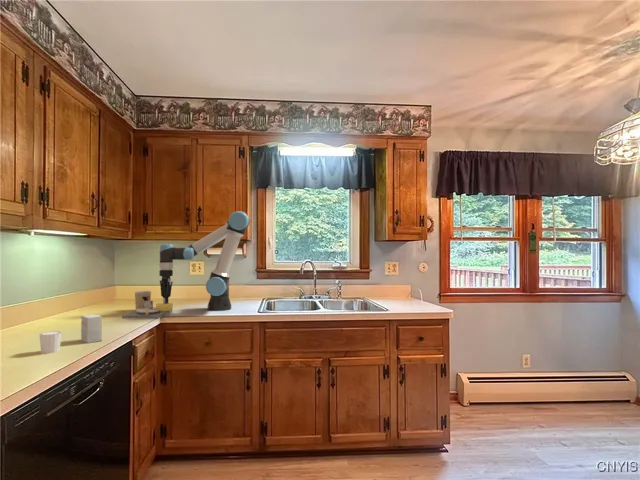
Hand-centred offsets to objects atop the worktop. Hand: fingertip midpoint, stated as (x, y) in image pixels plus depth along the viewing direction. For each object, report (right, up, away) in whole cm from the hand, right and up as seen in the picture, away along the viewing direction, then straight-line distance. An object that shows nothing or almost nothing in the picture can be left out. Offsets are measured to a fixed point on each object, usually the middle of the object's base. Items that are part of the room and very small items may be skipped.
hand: (165, 308), depth 226 cm
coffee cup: (-18, -3, +9) cm, 20 cm away
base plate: (-7, -3, -7) cm, 10 cm away
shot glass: (-9, -1, -84) cm, 85 cm away
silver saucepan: (-4, -1, -6) cm, 7 cm away
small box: (-4, -2, -68) cm, 68 cm away
